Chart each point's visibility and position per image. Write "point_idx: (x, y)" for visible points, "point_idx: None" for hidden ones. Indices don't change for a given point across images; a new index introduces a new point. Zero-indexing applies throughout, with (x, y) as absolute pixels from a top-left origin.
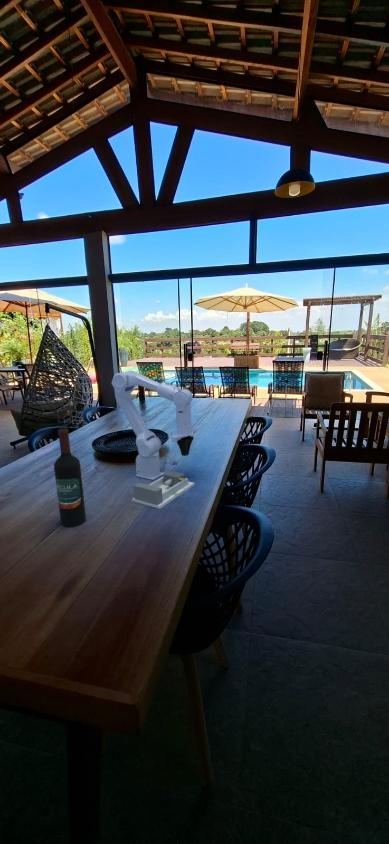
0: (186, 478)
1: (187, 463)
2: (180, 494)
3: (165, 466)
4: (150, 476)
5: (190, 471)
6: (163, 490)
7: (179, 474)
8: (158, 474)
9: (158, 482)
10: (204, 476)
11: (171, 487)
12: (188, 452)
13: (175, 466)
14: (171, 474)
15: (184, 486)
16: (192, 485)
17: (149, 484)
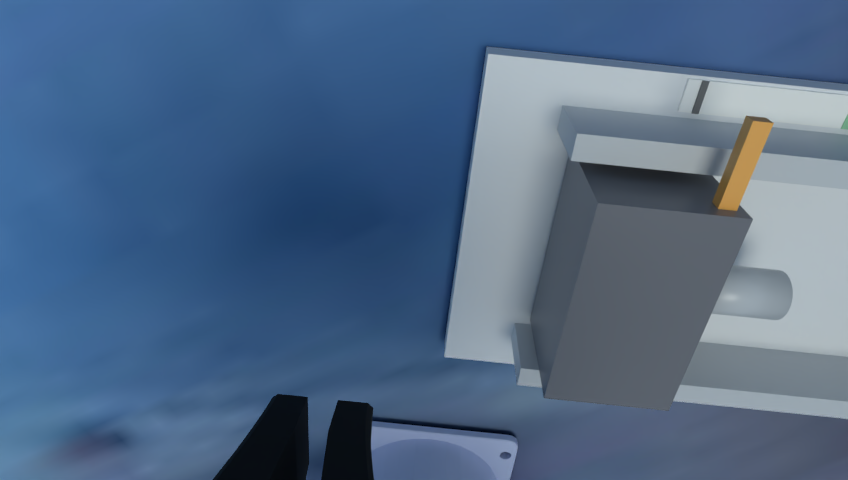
0: (586, 149)
1: (14, 358)
2: (796, 79)
3: (201, 469)
4: (492, 477)
5: (161, 255)
6: (780, 269)
7: (630, 254)
8: (427, 447)
9: (713, 373)
10: (187, 52)
11: None
12: (285, 429)
13: (148, 411)
14: (654, 335)
15: (643, 115)
16: (536, 54)
17: (840, 415)
